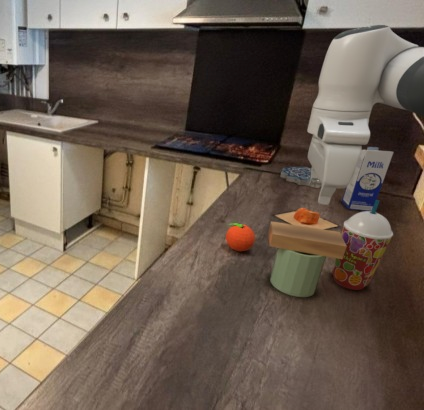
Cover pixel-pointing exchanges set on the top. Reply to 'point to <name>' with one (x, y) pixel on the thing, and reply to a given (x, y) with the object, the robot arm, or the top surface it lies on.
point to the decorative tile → (297, 175)
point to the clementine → (240, 237)
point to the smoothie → (362, 248)
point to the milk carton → (367, 179)
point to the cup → (296, 272)
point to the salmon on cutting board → (306, 219)
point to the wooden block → (307, 240)
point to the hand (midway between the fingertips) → (318, 194)
